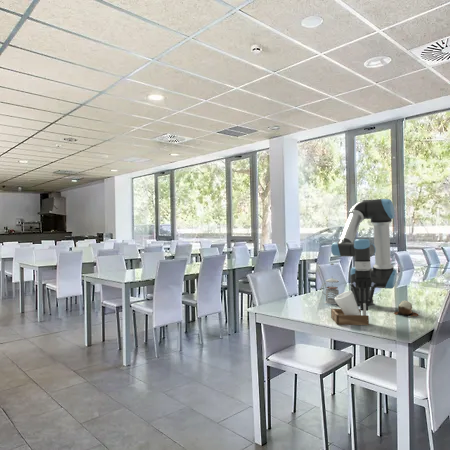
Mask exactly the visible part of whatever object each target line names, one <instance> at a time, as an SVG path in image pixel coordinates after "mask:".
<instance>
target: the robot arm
mask: <svg viewBox="0 0 450 450" xmlns="http://www.w3.org/2000/svg"><path fill="white" fill-rule="evenodd" d="M395 213H396V212H395V207H394V204H393V201H392V199H389V198H378V199H377V198H376V199H375V198H374V199H363V200H360V201H358V202H356V203H355V204H354V205H352V206H351V207H350V209H349V210H348V212H347V215H346V217H347V219H346V221H345V225H344V227H343V230H342V232H341V234H340V237H339V240H338V241H335V242H333V243H332V244H331V248H330V249H331V254H332V255H333V256H335V257H354V267H351V268H350V284H349V286H350V291H352V292H353V294H354V298H355V301H356V303H357V306H359V309H360V310H361V315H367V311H369V306H372V305H374V293H375V289H376V288H377V289H393V288H394V287H395V286H396V282H397V277H398V276H397V275H398V271H397V269H395V268H394V265H393V264H392V263H391V242H390V241H391V240H390V239H391V237H390V224H391V223H392V220H393V219H395V217H396V215H395ZM364 220H370V223H371V224H372V225H373V235H374V236H373V238H374V240H373V243H372V242H370V239H368V238H367V239H365V238H364V239H363V238H362V239H358V238H357V239H355V238H356V236H357V233H358V229H359V227H360V226H361V225H360V224H361V223H362V222H363V221H364ZM372 256H374V261H375V263H374V264H373V265H372V264H371V257H372ZM371 265H372V267H371Z"/></svg>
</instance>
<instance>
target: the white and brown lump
mask: <svg viewBox="0 0 450 450" xmlns="http://www.w3.org/2000/svg"><path fill="white" fill-rule="evenodd" d="M393 314H394V315H395V316H403V317H408V316H411V317H410V318H413V317H412V316H415V317H417V316H419V313H417V312H416V311H415V312H414V311H413V304H412V303H411V302H410V301H408V300H401V302H400V303H399V304H398V307H397V311H394V312H393Z"/></svg>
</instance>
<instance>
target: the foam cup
mask: <svg viewBox="0 0 450 450" xmlns="http://www.w3.org/2000/svg"><path fill="white" fill-rule="evenodd" d="M334 297H335V296H334ZM334 299H335V301H336V303H337V304H336V305H338V307H339V309H341V310H342V311H343V313H344V314H345V315H360V312H359V309H360V308H359V305H357V303H356V301H355V298H354V294H353V292H352V291H351V290H347V291H344V292H342V293H340V294H339V295H338V296H336V297H335V298H334Z"/></svg>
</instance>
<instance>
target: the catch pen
mask: <svg viewBox="0 0 450 450" xmlns="http://www.w3.org/2000/svg"><path fill="white" fill-rule="evenodd" d="M358 309H359V312H360V315H345V314H344V313H343V311H342V310H341V308H330V316H331V319H332V321H334V323H335V324H336V325H339V326H340V325H343V326H347V325H348V326H369V325H370V322H369V319H370V317H369V315H368V314H366V315H362V311H361V310H360V308H358Z"/></svg>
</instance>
